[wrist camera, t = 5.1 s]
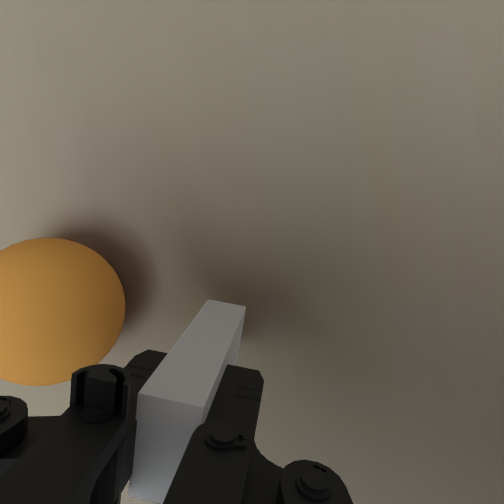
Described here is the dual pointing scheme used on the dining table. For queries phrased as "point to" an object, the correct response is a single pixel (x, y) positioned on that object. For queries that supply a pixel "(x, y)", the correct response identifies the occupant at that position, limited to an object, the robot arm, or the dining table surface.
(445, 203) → the dining table surface
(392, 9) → the dining table surface
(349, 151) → the dining table surface
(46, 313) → the ball
